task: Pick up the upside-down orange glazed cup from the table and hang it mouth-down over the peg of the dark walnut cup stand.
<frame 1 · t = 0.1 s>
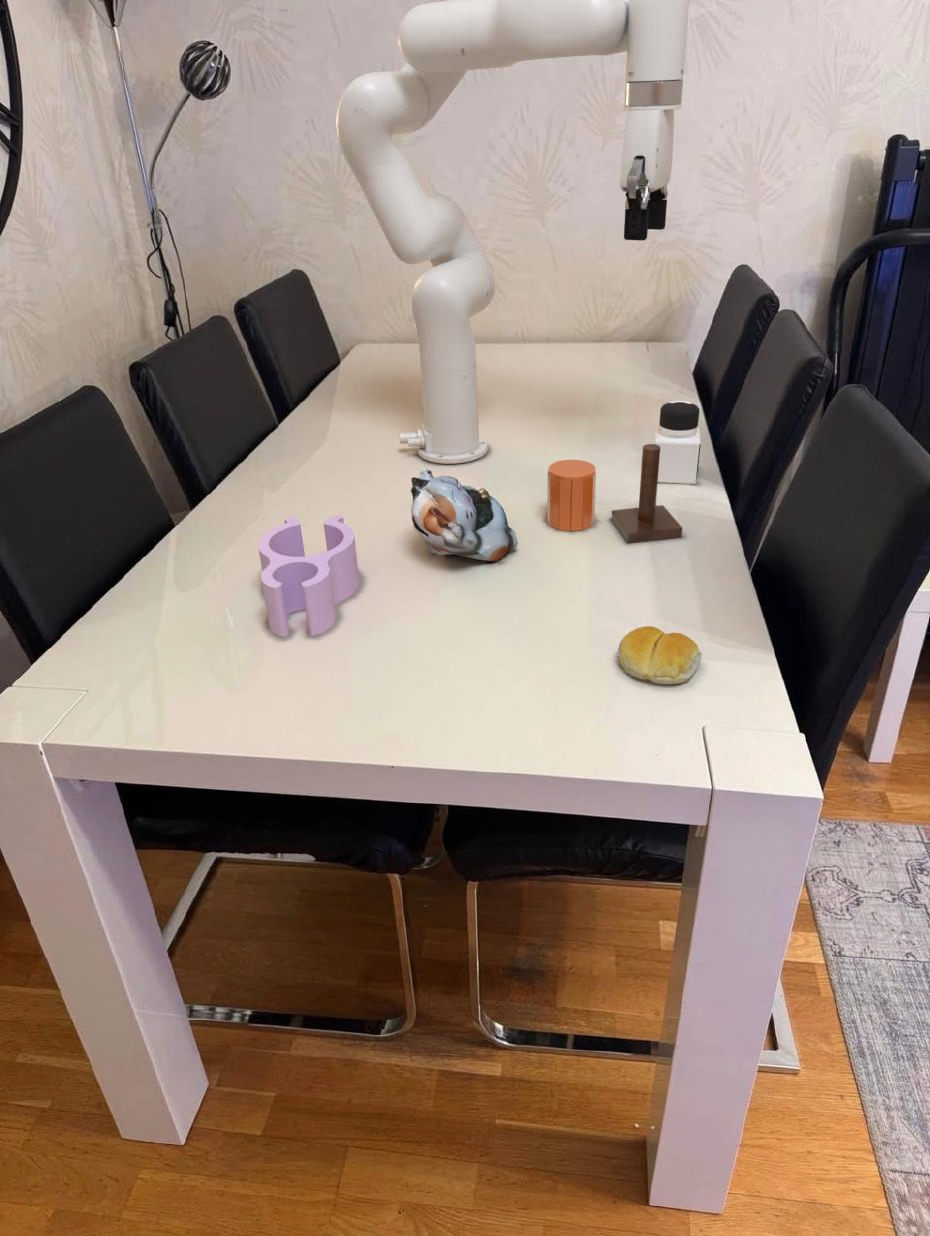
hand: (644, 234, 129), 37 cm above the table, tool pointing down, fingers open, 9 cm apart
cup: (570, 521, 135), on the table
bread roll: (658, 666, 102), on the table
clip: (310, 596, 118), on the table
medicine bottle: (673, 476, 148), on the table
lucky cat figurine: (465, 552, 128), on the table
stand: (645, 528, 132), on the table
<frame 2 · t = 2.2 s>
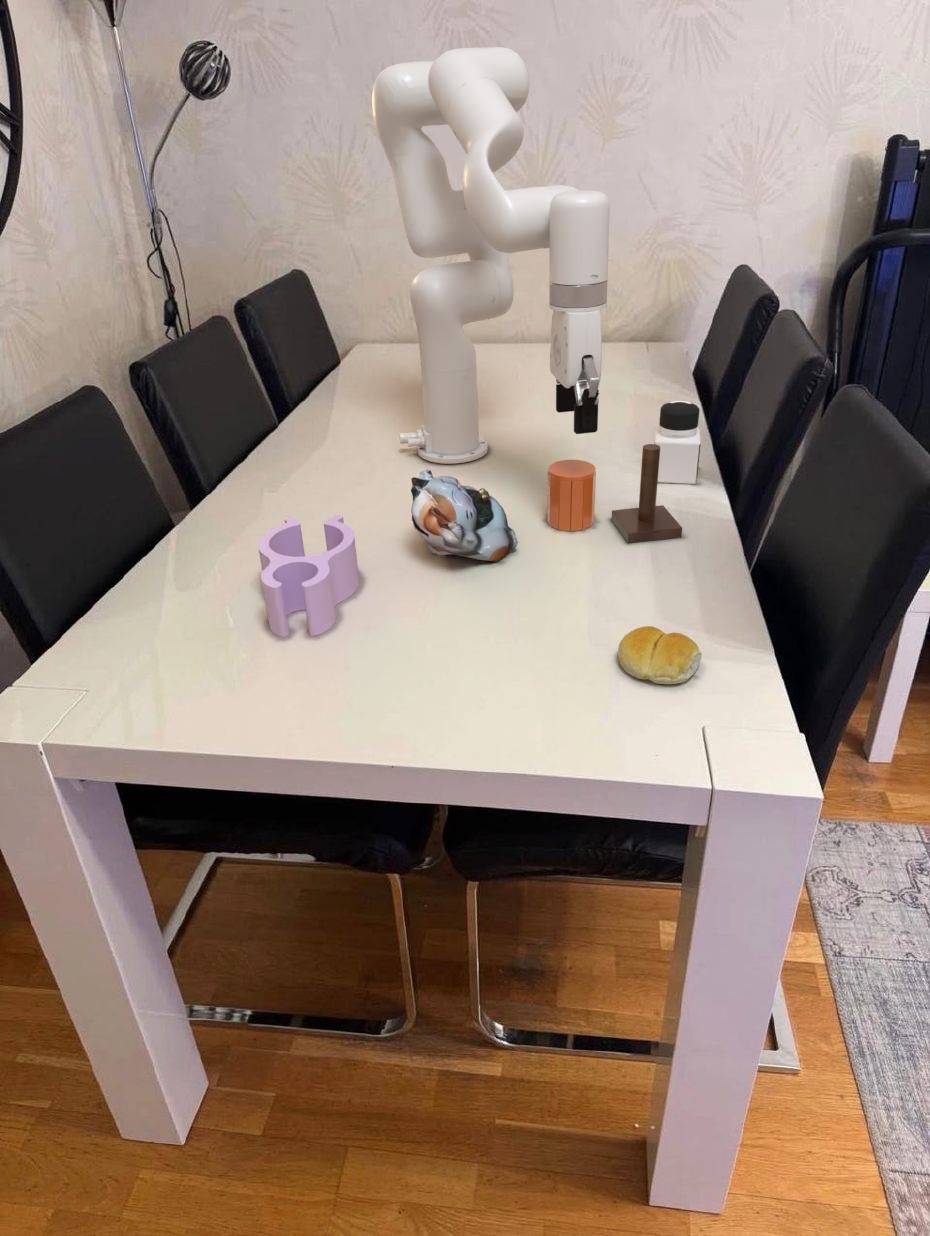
hand: (576, 421, 127), 16 cm above the table, tool pointing down, fingers open, 9 cm apart
nothing on the table moved.
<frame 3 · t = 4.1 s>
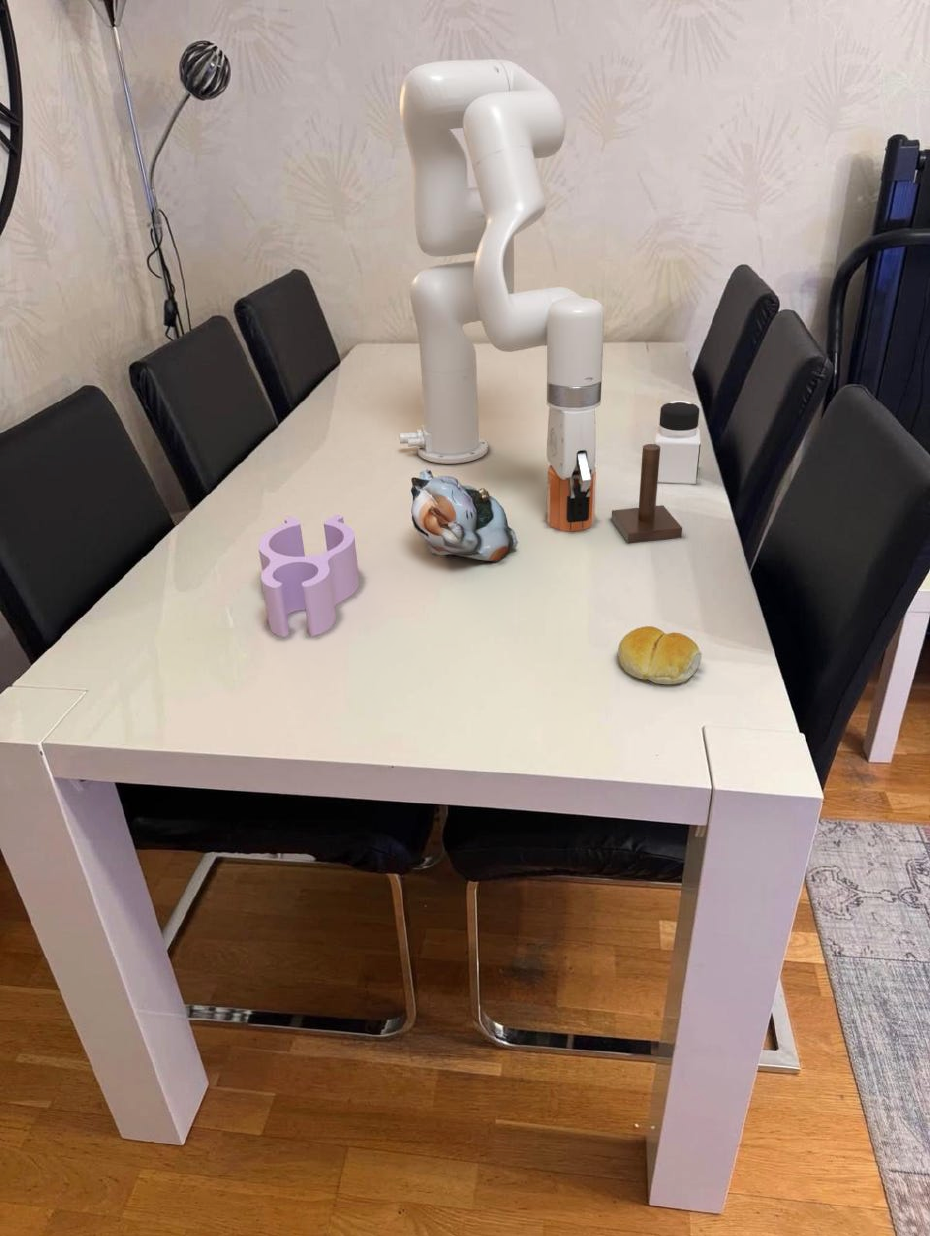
hand: (570, 509, 134), 2 cm above the table, tool pointing down, fingers closed on cup, 6 cm apart
cup: (570, 521, 135), on the table, touching gripper
everything else where it was.
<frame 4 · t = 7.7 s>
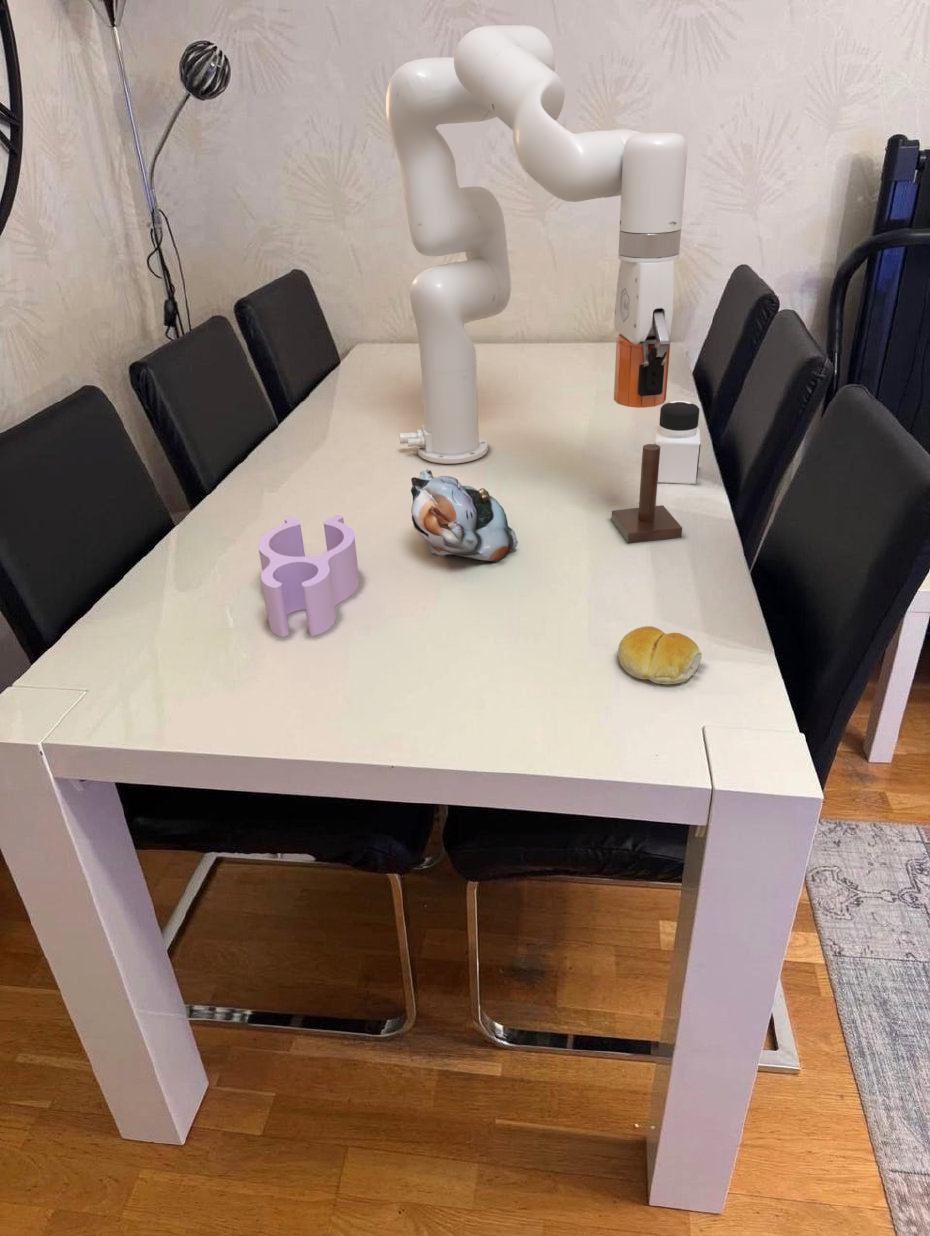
hand: (640, 385, 121), 21 cm above the table, tool pointing down, fingers closed on cup, 6 cm apart
cup: (639, 399, 122), point 19 cm above the table, touching gripper
everything else where it was.
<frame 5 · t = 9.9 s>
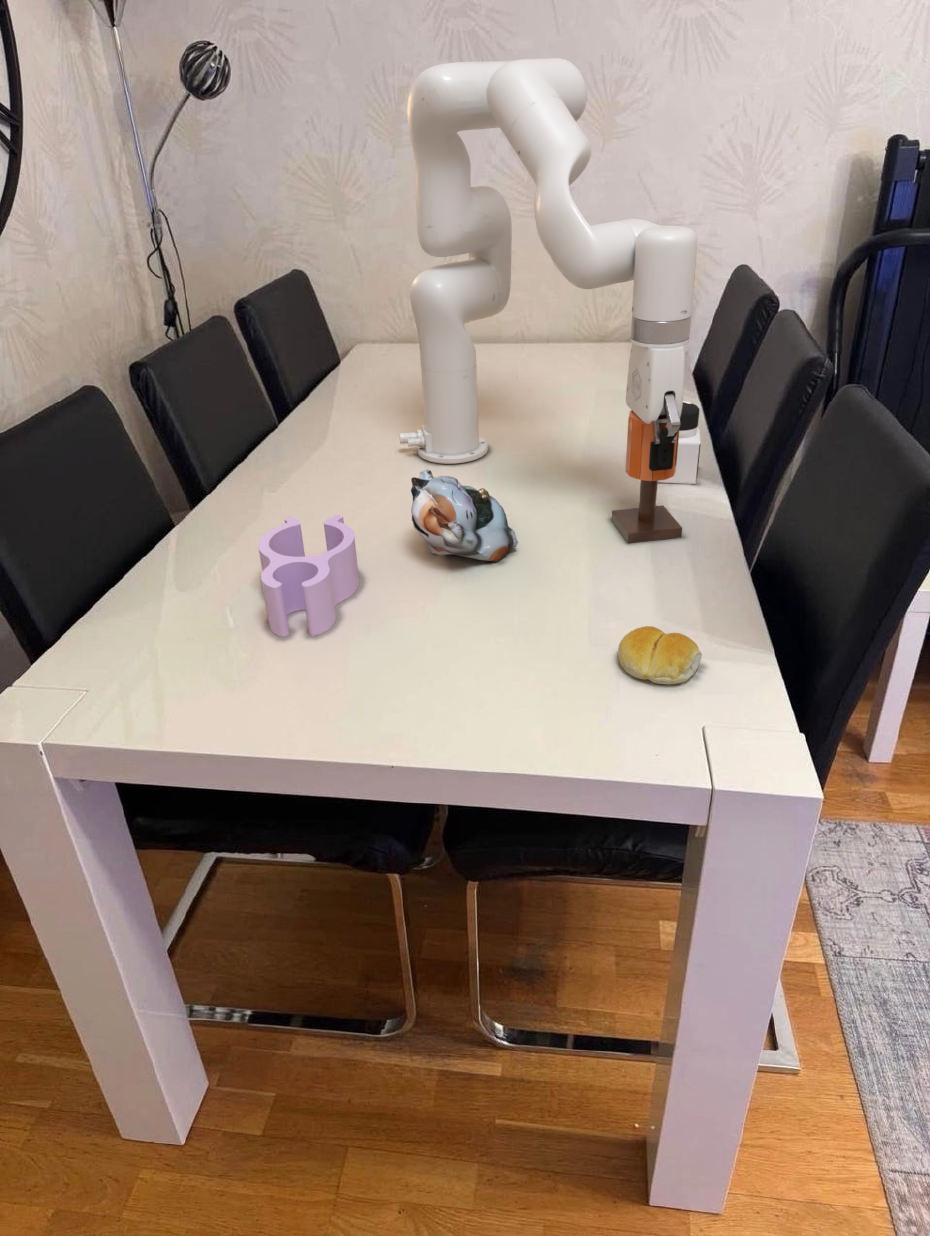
hand: (651, 458, 126), 11 cm above the table, tool pointing down, fingers closed on cup, 6 cm apart
cup: (650, 471, 127), point 9 cm above the table, touching gripper
everything else where it was.
when the fingers open (7 cm above the table, at t = 11.5 s): cup stays where it is, resting on stand.
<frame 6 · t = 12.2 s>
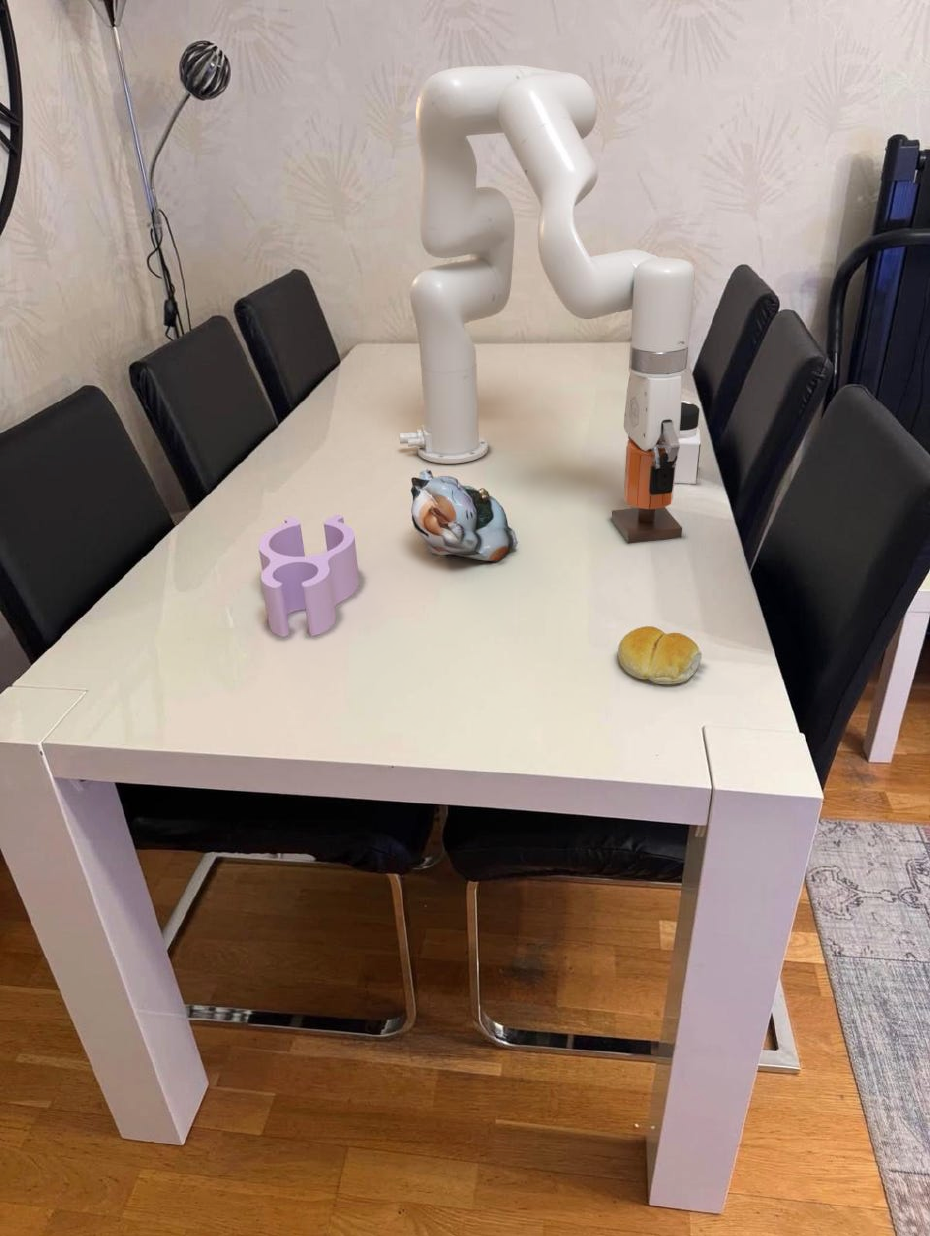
hand: (648, 479, 128), 8 cm above the table, tool pointing down, fingers open, 9 cm apart
cup: (647, 499, 129), point 5 cm above the table, touching stand
everything else where it was.
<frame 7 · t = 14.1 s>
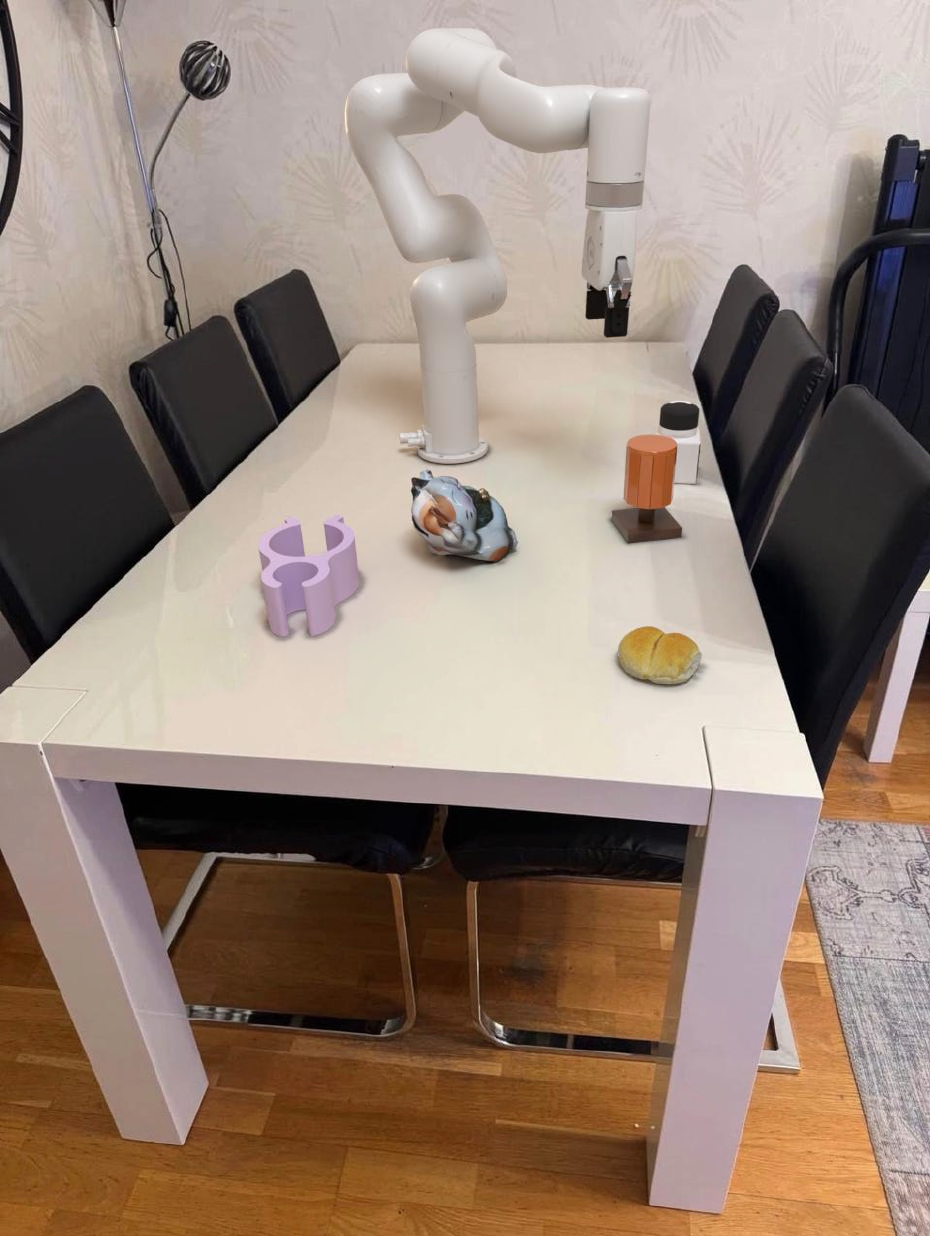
hand: (605, 327, 128), 26 cm above the table, tool pointing down, fingers open, 9 cm apart
nothing on the table moved.
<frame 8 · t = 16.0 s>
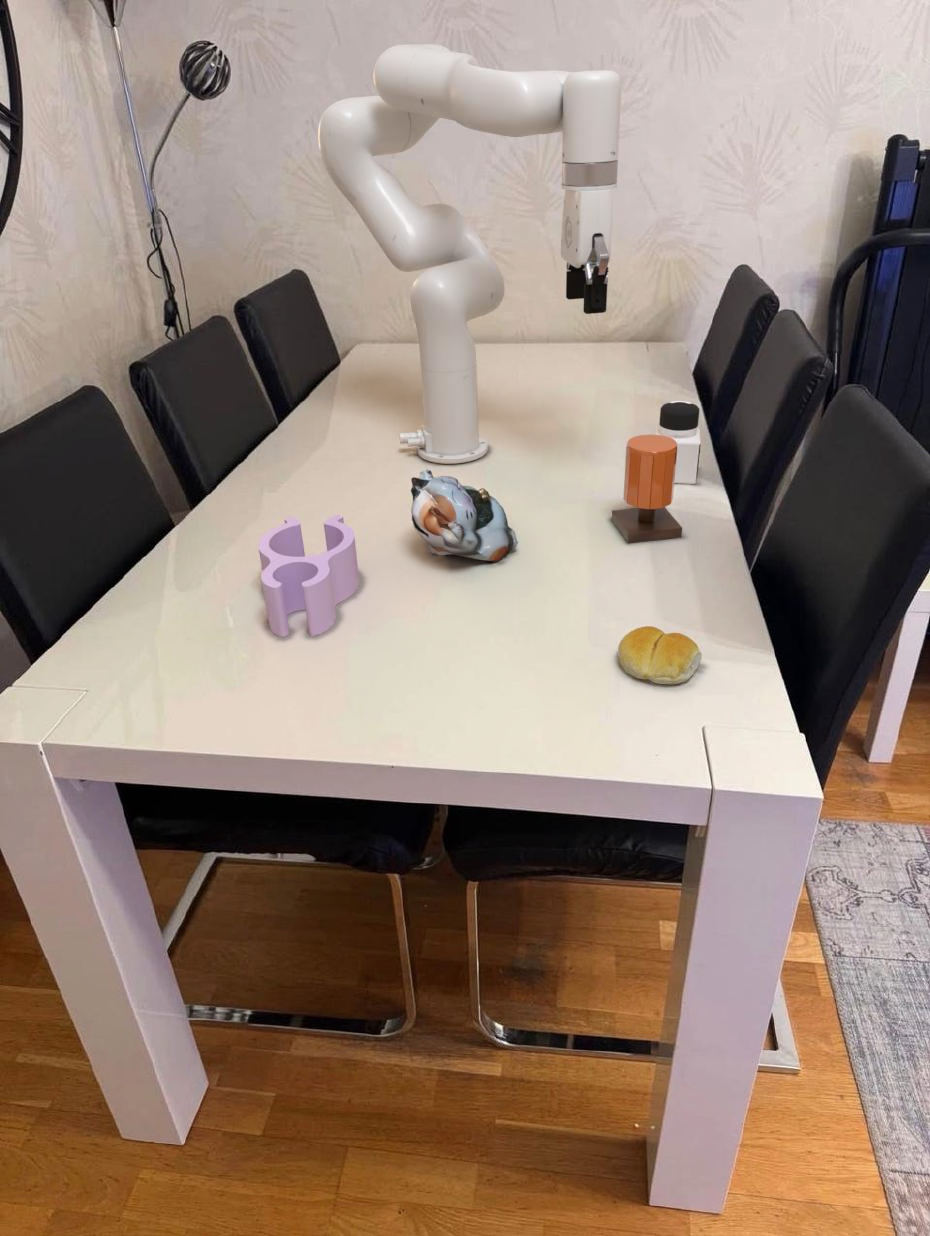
hand: (585, 305, 132), 28 cm above the table, tool pointing down, fingers open, 9 cm apart
nothing on the table moved.
at the end: cup 0.0 cm off-centre on the stand, point 4.7 cm above the stand's base; cup touching stand; cup tilted 0° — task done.
